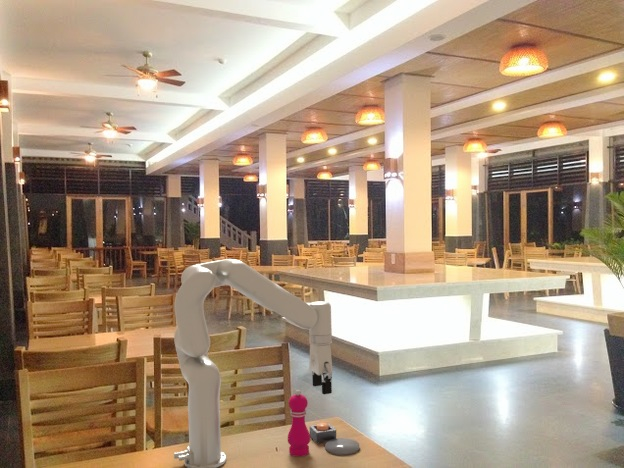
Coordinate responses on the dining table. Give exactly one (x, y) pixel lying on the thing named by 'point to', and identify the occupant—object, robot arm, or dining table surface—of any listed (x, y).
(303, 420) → the pepper mill
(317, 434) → the button housing
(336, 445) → the pad
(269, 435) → the dining table surface
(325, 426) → the button
